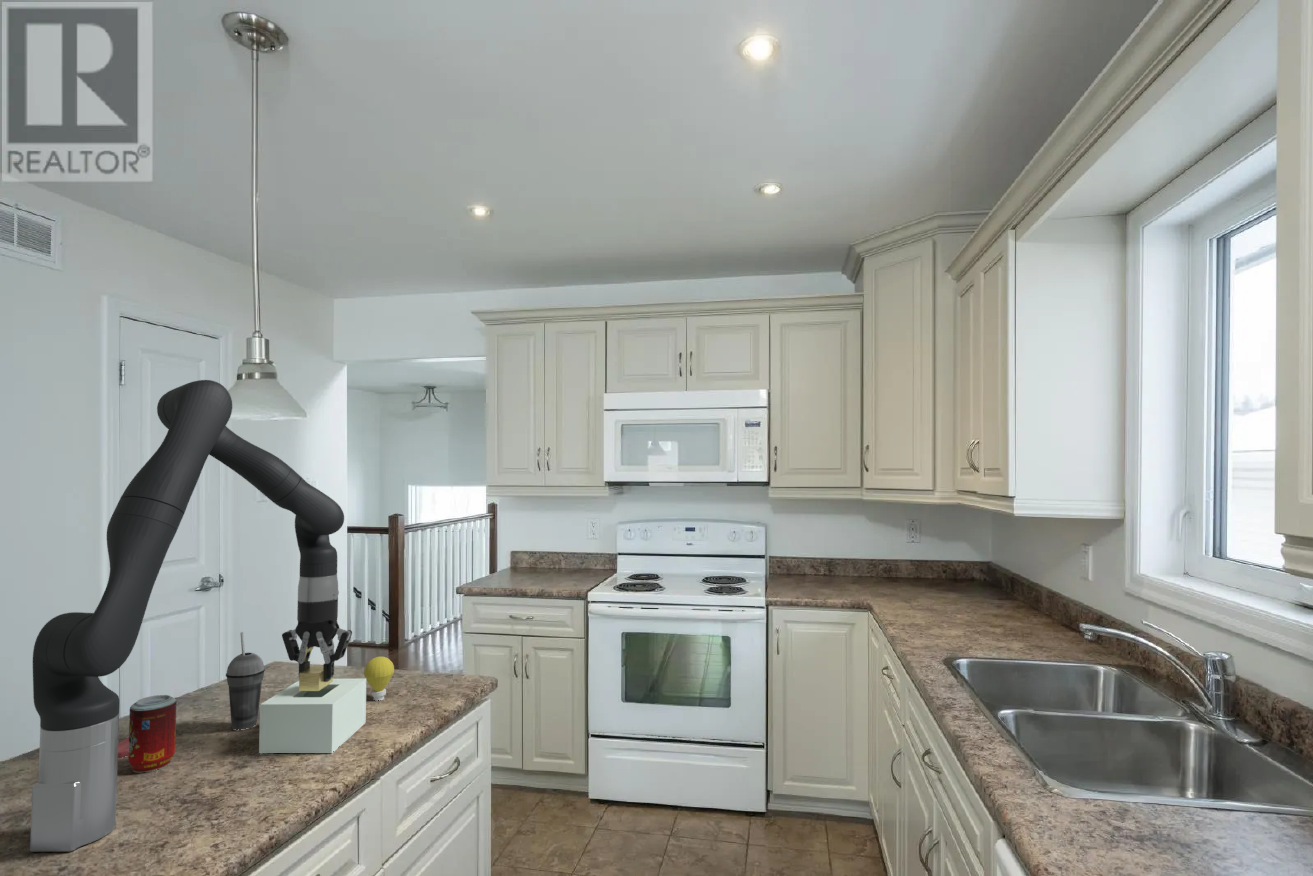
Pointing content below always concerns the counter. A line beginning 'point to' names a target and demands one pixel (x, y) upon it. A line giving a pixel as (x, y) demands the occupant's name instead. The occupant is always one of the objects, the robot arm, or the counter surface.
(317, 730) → the box
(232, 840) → the counter surface
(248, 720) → the beverage cup
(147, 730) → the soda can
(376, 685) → the light bulb
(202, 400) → the robot arm
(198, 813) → the counter surface
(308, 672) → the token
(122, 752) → the popsicle
